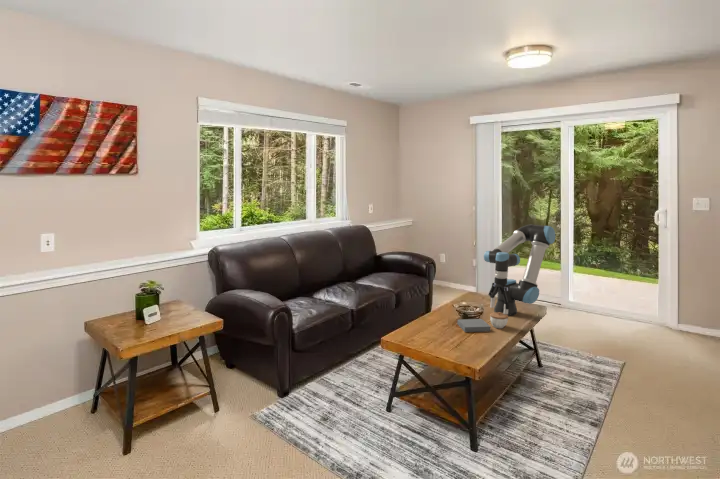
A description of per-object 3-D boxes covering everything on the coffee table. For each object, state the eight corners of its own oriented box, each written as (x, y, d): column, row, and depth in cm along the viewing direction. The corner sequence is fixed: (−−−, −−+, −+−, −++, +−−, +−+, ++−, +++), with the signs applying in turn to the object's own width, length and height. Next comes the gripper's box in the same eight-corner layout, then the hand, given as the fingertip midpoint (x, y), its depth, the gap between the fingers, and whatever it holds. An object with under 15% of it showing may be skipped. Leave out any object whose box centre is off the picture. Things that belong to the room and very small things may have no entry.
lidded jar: (508, 330, 255) (509, 315, 253) (490, 329, 257) (491, 314, 255) (506, 324, 265) (507, 310, 264) (488, 323, 267) (489, 309, 266)
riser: (481, 323, 267) (481, 318, 266) (490, 331, 253) (490, 326, 252) (457, 324, 265) (457, 319, 265) (464, 332, 251) (464, 327, 251)
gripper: (484, 273, 267) (482, 305, 270) (508, 282, 243) (506, 317, 246) (494, 272, 269) (492, 304, 272) (519, 281, 245) (517, 316, 248)
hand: (498, 310), depth 259 cm, fingers open, 13 cm apart
